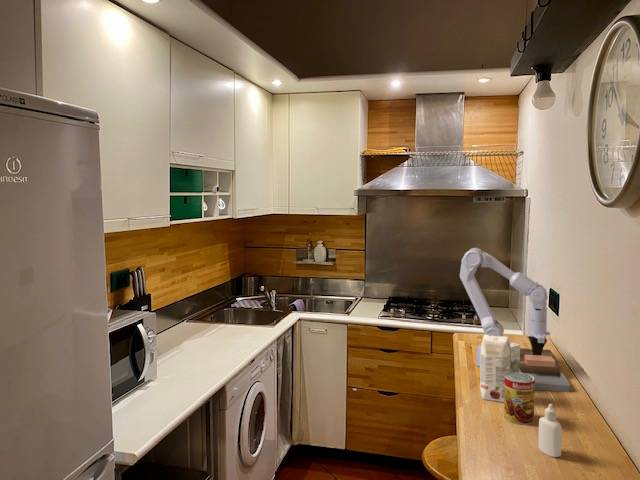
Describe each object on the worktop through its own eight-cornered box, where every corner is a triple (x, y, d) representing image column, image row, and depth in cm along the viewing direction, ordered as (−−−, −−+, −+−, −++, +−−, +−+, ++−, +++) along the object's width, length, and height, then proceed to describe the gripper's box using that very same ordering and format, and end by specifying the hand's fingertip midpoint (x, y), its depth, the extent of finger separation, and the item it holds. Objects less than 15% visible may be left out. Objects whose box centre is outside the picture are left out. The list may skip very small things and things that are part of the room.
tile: (555, 367, 170) (555, 361, 170) (526, 365, 172) (527, 359, 172) (551, 361, 176) (551, 355, 175) (524, 360, 178) (524, 354, 178)
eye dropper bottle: (555, 447, 124) (557, 400, 123) (562, 458, 118) (563, 409, 117) (537, 445, 125) (538, 399, 124) (542, 457, 119) (543, 408, 118)
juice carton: (508, 404, 150) (509, 342, 148) (479, 399, 153) (479, 339, 152) (510, 395, 157) (511, 335, 155) (482, 391, 160) (482, 333, 159)
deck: (560, 376, 172) (561, 365, 172) (517, 373, 175) (517, 362, 175) (549, 360, 189) (550, 349, 189) (510, 357, 193) (510, 347, 192)
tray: (571, 392, 158) (571, 385, 158) (524, 388, 162) (524, 382, 161) (560, 376, 172) (561, 370, 172) (517, 373, 175) (517, 368, 175)
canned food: (518, 426, 135) (519, 383, 134) (497, 415, 142) (498, 374, 141) (540, 421, 138) (541, 379, 137) (519, 410, 145) (519, 370, 144)
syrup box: (503, 382, 168) (504, 339, 167) (519, 387, 163) (520, 343, 162) (493, 386, 164) (494, 342, 163) (509, 391, 160) (510, 347, 158)
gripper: (554, 325, 168) (553, 364, 170) (545, 315, 183) (544, 351, 184) (532, 324, 170) (531, 363, 171) (525, 314, 184) (524, 350, 185)
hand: (536, 357), depth 178 cm, fingers closed
